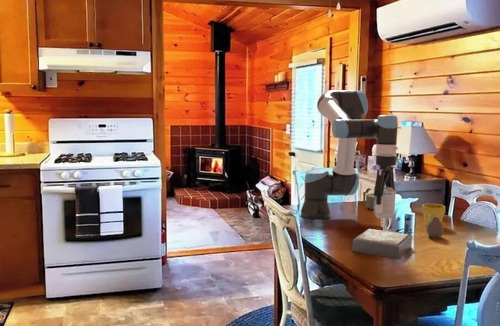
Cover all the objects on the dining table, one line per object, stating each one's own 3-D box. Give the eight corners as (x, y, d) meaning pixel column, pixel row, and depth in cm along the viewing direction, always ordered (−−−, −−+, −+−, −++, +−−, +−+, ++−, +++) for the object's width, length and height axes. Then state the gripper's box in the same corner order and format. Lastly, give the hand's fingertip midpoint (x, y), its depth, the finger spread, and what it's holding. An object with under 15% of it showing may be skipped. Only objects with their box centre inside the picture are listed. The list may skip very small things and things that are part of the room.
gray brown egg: (442, 236, 216) (444, 216, 215) (443, 240, 210) (444, 220, 208) (426, 234, 218) (427, 215, 217) (426, 238, 212) (427, 218, 211)
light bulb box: (372, 212, 200) (373, 186, 198) (389, 212, 199) (391, 186, 198) (377, 218, 189) (378, 190, 188) (394, 219, 188) (396, 191, 187)
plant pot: (417, 223, 238) (418, 203, 237) (438, 223, 239) (439, 203, 238) (426, 228, 228) (428, 208, 227) (448, 228, 229) (449, 207, 227)
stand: (352, 251, 193) (352, 237, 192) (367, 240, 208) (367, 227, 208) (398, 259, 184) (399, 245, 183) (410, 247, 199) (411, 234, 198)
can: (388, 206, 276) (389, 194, 275) (386, 210, 265) (386, 198, 264) (367, 204, 280) (367, 192, 280) (363, 208, 269) (364, 196, 269)
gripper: (386, 158, 179) (384, 216, 182) (404, 153, 199) (401, 205, 202) (366, 157, 183) (364, 214, 186) (385, 152, 203) (383, 203, 206)
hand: (383, 209), depth 194 cm, fingers closed on light bulb box, 12 cm apart
